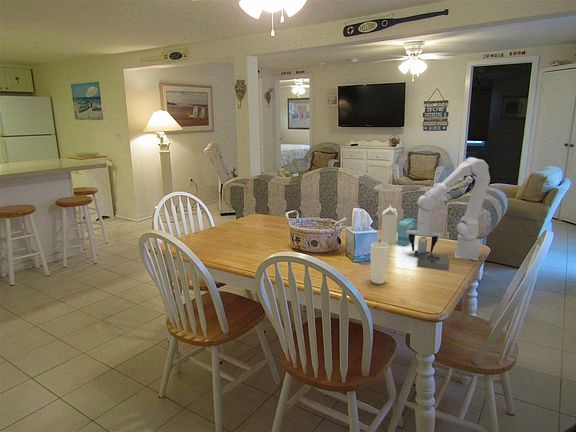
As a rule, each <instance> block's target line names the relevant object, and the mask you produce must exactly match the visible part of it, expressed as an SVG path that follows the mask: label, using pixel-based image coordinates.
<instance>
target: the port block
mask: <svg viewBox="0 0 576 432" xmlns="http://www.w3.org/2000/svg"><path fill="white" fill-rule="evenodd" d="M416 264H417V265H416V266H417V267H418V268H426V269H427V268H428V269H434V270H435V269H437V270H443V271H444V270H445V271H448V270H449V255H446V254H436V253H430V254H429V253H420V252H419V257H417V262H416Z"/></svg>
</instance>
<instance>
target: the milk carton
mask: <svg viewBox="0 0 576 432" xmlns="http://www.w3.org/2000/svg"><path fill="white" fill-rule="evenodd" d="M381 215H382V217H381V237H380V238H381V239H380V242H382V243H386V244H388V245H397V234H398V210H397V209H396V208H395V207H392V206H391V203H390V204H389V207H387V208H385V210H383V211H382V213H381Z"/></svg>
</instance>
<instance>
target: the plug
mask: <svg viewBox="0 0 576 432" xmlns="http://www.w3.org/2000/svg"><path fill="white" fill-rule="evenodd" d="M426 238H427V237H425V236H420V238H418V242H417V243H418V244H417V251H418V254H417V255H419V252H420V253H426V252H428V251H427V250H428V249H427V248H428V239H426Z"/></svg>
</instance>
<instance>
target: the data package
mask: <svg viewBox="0 0 576 432" xmlns="http://www.w3.org/2000/svg"><path fill="white" fill-rule="evenodd" d="M407 230H417V219H416V218H409V217H407V218H405V219H403V220H401V221H398V223H397V237H396V245H397V246H402V247H407V246H409V245H411V242H410V240H409V235H406V231H407ZM415 241H416V239H415V240H414V242H415Z"/></svg>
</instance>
